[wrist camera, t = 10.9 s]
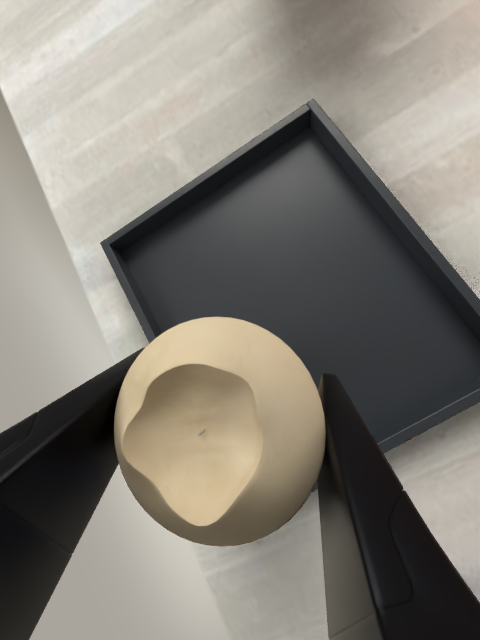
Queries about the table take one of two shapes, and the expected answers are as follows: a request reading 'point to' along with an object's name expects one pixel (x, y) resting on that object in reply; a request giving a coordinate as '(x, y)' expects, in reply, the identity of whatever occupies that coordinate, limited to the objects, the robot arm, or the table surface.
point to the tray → (313, 274)
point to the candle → (219, 431)
